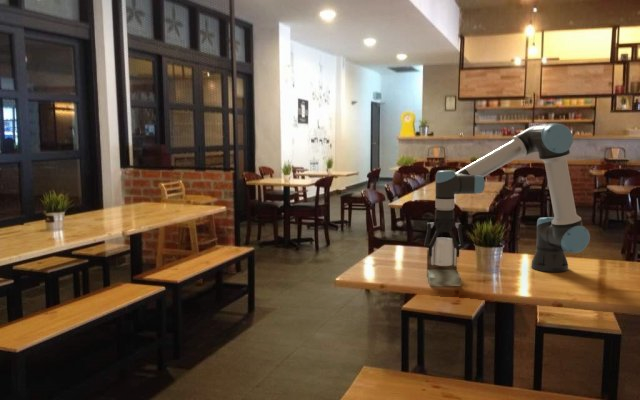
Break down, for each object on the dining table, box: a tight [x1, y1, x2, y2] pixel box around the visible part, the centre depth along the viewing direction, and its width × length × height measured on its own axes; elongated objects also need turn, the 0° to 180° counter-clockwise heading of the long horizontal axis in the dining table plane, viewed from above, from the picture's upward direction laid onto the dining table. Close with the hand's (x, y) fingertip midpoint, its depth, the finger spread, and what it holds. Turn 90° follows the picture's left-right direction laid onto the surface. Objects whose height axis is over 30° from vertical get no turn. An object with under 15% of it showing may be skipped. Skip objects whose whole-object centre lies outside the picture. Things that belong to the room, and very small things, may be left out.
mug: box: [432, 236, 455, 266], centre depth 229 cm, size 12×8×10 cm
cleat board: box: [426, 247, 462, 287], centre depth 231 cm, size 12×16×12 cm
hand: (443, 264), depth 230 cm, fingers closed on mug, 8 cm apart
